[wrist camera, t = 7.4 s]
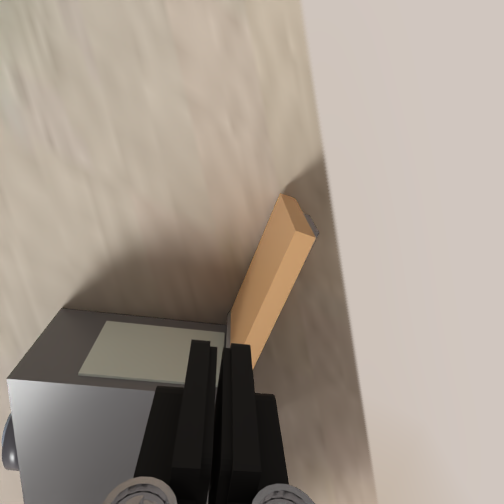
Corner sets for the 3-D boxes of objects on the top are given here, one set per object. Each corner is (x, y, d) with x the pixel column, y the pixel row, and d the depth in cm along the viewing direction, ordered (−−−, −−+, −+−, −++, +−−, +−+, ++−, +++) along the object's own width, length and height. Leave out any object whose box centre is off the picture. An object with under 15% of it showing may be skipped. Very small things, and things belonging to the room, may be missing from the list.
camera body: (221, 437, 28) (218, 535, 22) (43, 424, 27) (-13, 524, 21) (240, 324, 24) (242, 405, 18) (31, 303, 23) (-42, 382, 17)
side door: (224, 321, 23) (221, 389, 18) (278, 192, 20) (293, 229, 15) (248, 328, 24) (252, 397, 18) (305, 202, 20) (329, 242, 15)
